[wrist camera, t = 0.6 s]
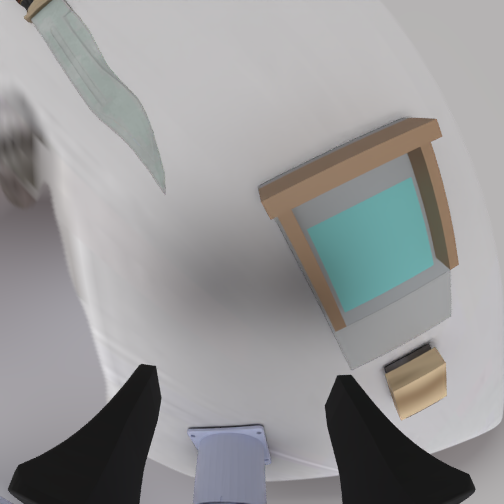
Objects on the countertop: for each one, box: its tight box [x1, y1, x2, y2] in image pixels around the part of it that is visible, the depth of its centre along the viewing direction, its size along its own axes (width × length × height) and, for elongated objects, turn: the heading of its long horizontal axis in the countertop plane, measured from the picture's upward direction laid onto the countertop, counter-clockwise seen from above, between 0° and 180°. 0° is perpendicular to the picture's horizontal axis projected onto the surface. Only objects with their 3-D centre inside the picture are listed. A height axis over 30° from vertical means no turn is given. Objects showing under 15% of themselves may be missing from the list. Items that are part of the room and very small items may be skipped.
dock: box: [258, 118, 459, 370], centre depth 18 cm, size 18×10×5 cm, turn 28°
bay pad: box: [307, 177, 434, 312], centre depth 18 cm, size 7×8×1 cm
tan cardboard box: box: [385, 344, 447, 420], centre depth 23 cm, size 6×5×3 cm
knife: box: [16, 0, 166, 194], centre depth 13 cm, size 27×2×5 cm
